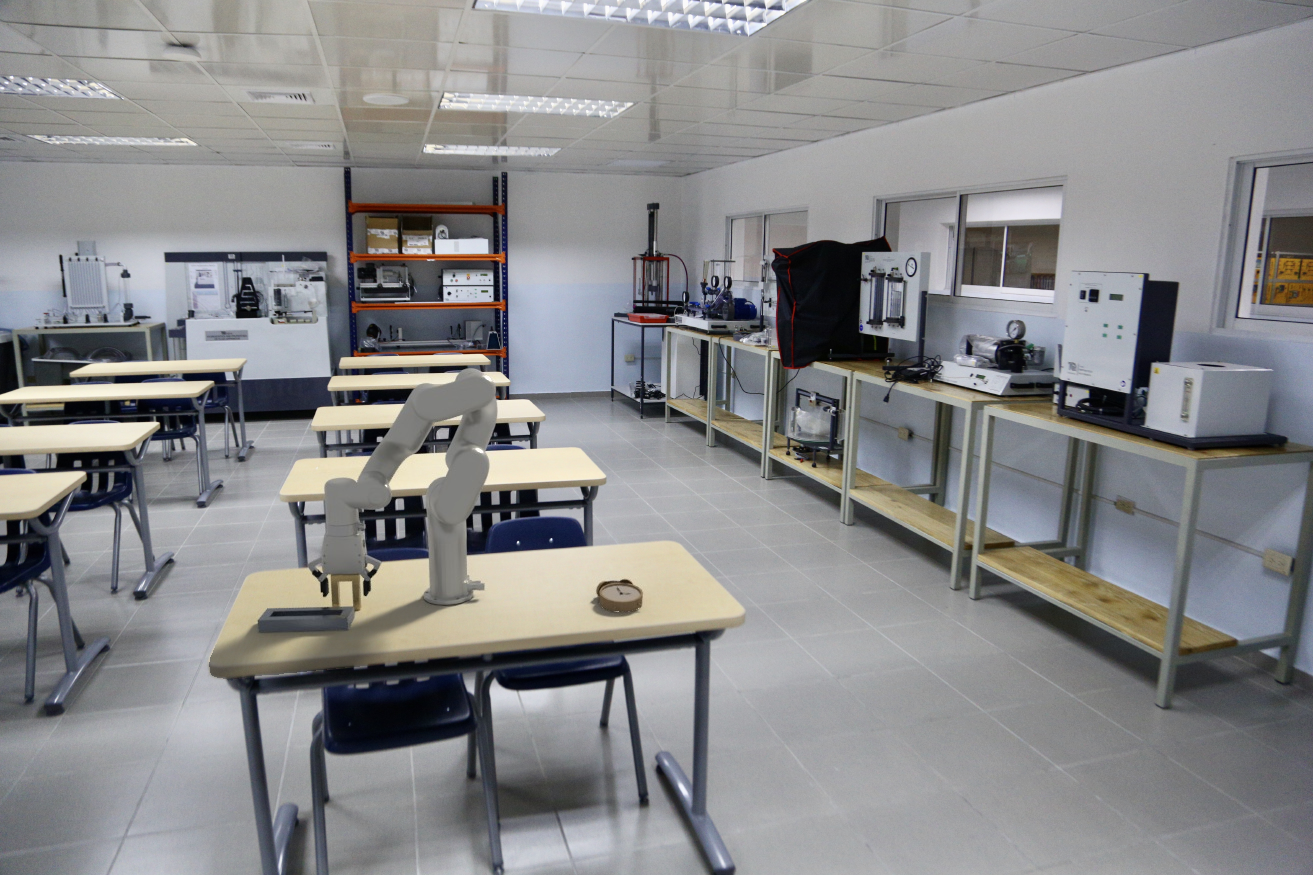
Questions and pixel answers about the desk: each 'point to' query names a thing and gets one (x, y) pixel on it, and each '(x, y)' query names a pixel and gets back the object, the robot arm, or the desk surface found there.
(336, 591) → the wooden u-shaped block
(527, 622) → the desk surface
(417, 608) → the desk surface
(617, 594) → the alarm clock
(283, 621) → the rail
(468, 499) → the robot arm
